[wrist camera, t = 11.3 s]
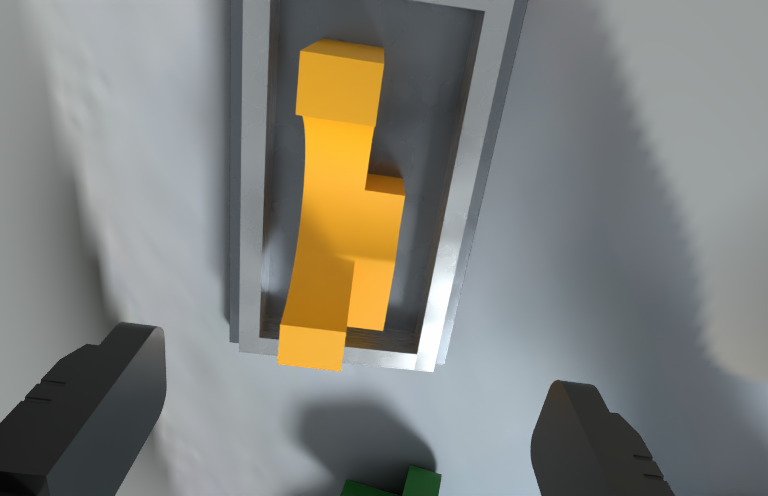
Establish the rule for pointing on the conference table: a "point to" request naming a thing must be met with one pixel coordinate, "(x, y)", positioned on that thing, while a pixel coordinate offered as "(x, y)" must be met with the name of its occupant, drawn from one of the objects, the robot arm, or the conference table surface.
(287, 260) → the grey metal tray
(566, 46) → the conference table surface
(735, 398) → the conference table surface
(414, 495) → the clamp
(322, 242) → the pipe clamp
